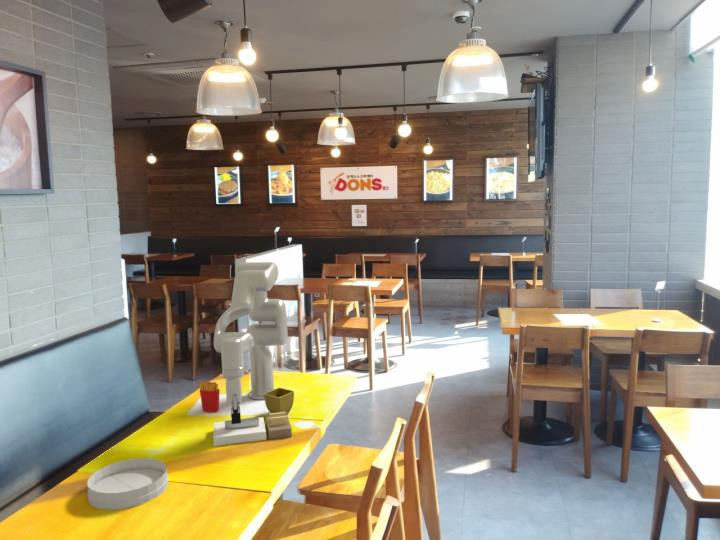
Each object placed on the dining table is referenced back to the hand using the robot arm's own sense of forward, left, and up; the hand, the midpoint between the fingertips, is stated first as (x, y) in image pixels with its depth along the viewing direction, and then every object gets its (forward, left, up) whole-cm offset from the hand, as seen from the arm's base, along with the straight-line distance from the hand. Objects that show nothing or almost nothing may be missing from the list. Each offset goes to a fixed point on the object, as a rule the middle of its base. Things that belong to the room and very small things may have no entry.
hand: (236, 420), depth 205 cm
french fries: (-29, -10, -6) cm, 31 cm away
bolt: (0, +2, -2) cm, 3 cm away
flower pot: (-16, +17, -6) cm, 24 cm away
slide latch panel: (0, +5, -5) cm, 7 cm away
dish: (+31, -32, -6) cm, 45 cm away
